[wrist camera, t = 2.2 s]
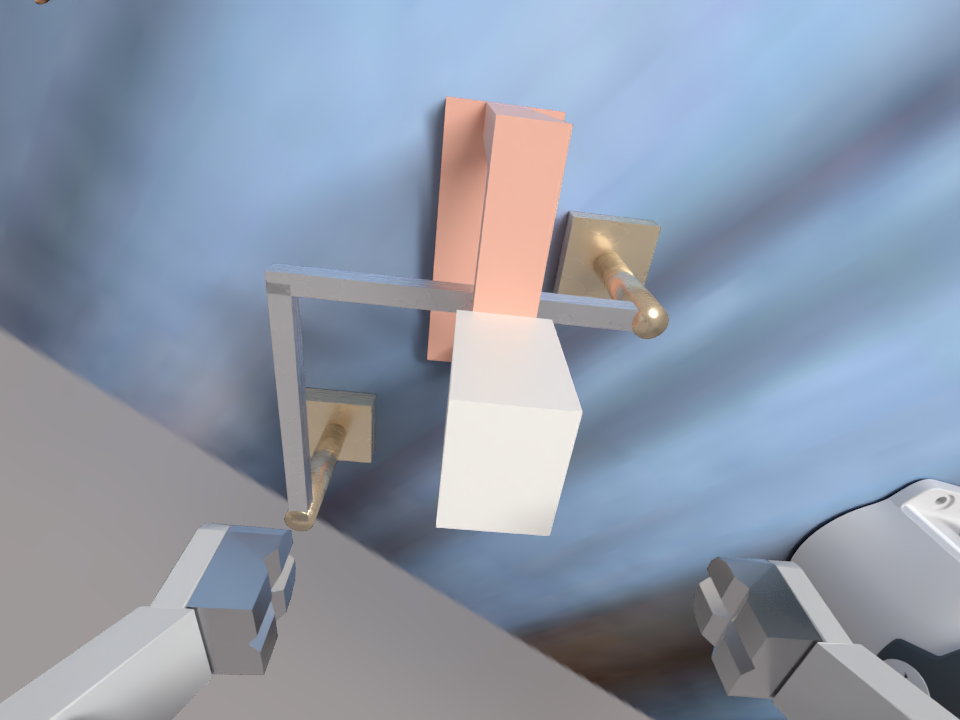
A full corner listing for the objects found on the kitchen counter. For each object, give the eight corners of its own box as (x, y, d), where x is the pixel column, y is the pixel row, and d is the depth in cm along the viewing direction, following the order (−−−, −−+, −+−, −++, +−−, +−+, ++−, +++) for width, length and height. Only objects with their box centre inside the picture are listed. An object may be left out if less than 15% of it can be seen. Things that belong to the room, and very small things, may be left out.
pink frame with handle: (560, 111, 26) (737, 157, 8) (517, 357, 33) (563, 658, 16) (447, 96, 25) (385, 112, 8) (429, 348, 33) (374, 647, 15)
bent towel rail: (653, 220, 29) (725, 274, 20) (582, 467, 38) (612, 573, 29) (288, 177, 27) (207, 215, 19) (307, 443, 36) (257, 548, 28)
